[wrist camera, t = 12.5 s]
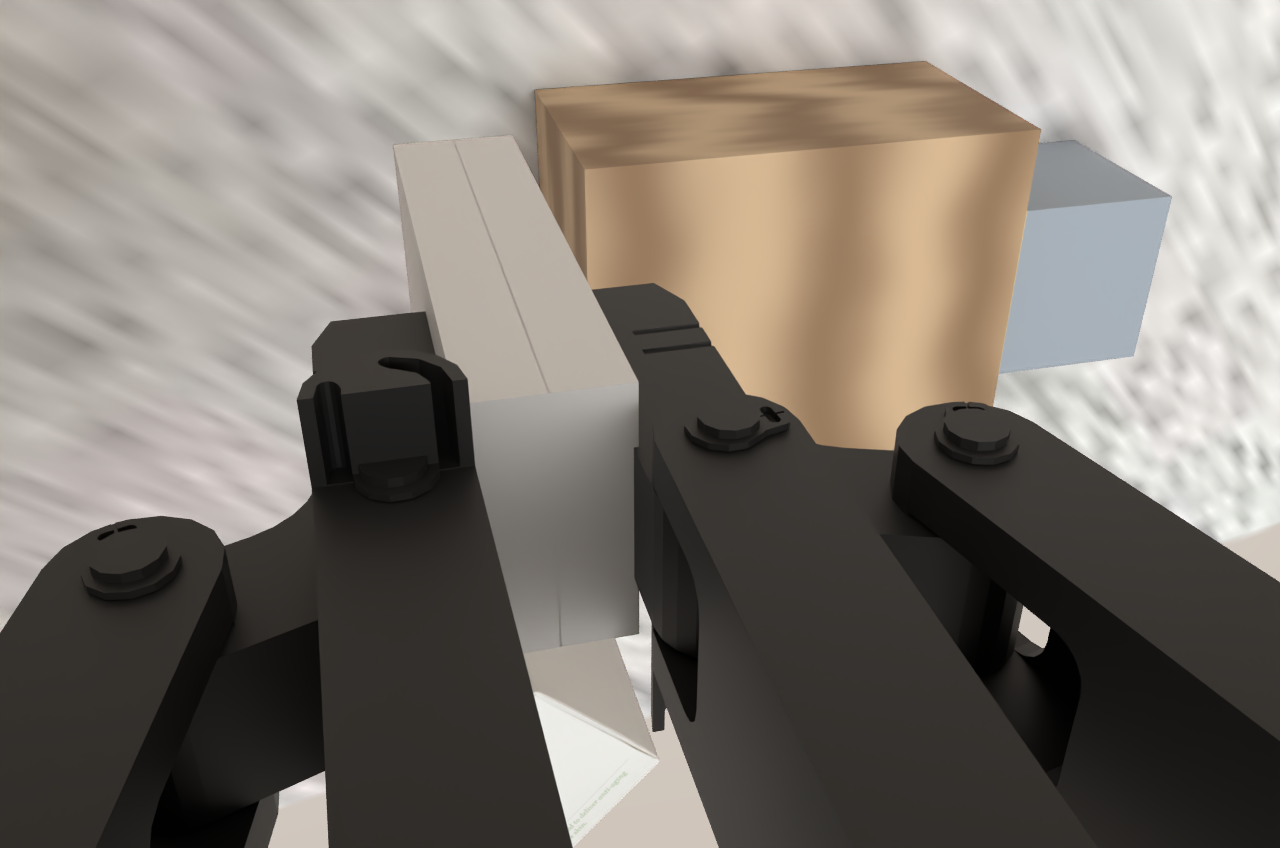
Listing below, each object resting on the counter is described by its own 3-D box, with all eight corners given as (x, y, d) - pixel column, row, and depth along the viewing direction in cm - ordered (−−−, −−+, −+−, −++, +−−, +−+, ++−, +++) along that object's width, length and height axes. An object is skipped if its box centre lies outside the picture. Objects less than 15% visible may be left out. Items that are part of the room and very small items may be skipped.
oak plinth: (549, 409, 53) (593, 527, 46) (534, 89, 46) (584, 169, 38) (889, 365, 57) (981, 469, 49) (925, 61, 49) (1041, 129, 42)
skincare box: (468, 639, 59) (521, 909, 46) (355, 581, 55) (378, 854, 42) (582, 520, 57) (671, 767, 44) (472, 451, 53) (534, 697, 41)
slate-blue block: (980, 376, 49) (1133, 356, 51) (1008, 212, 46) (1172, 196, 47) (906, 303, 55) (1045, 287, 57) (926, 153, 51) (1073, 139, 53)
